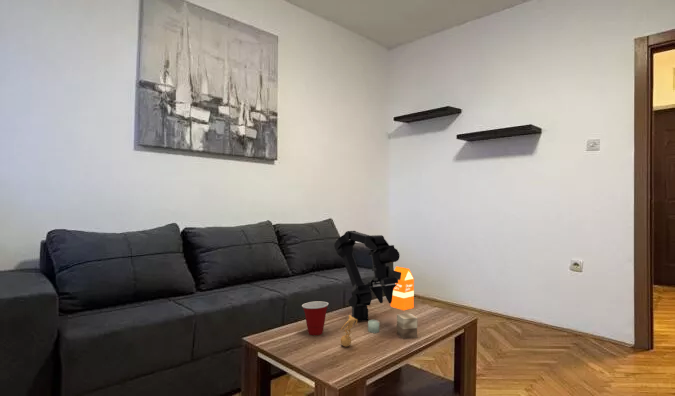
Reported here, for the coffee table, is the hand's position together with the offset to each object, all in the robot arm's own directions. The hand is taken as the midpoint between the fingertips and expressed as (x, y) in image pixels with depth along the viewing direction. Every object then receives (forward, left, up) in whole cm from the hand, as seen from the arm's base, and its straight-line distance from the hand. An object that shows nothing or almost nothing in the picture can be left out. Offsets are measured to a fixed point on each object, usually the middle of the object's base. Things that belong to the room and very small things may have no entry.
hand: (385, 302), depth 158 cm
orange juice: (+21, +31, -12) cm, 40 cm away
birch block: (+6, -7, -8) cm, 12 cm away
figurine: (-20, -13, -12) cm, 26 cm away
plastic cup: (-29, +4, -12) cm, 31 cm away
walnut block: (+6, -7, -12) cm, 15 cm away
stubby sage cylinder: (-5, +1, -12) cm, 13 cm away
